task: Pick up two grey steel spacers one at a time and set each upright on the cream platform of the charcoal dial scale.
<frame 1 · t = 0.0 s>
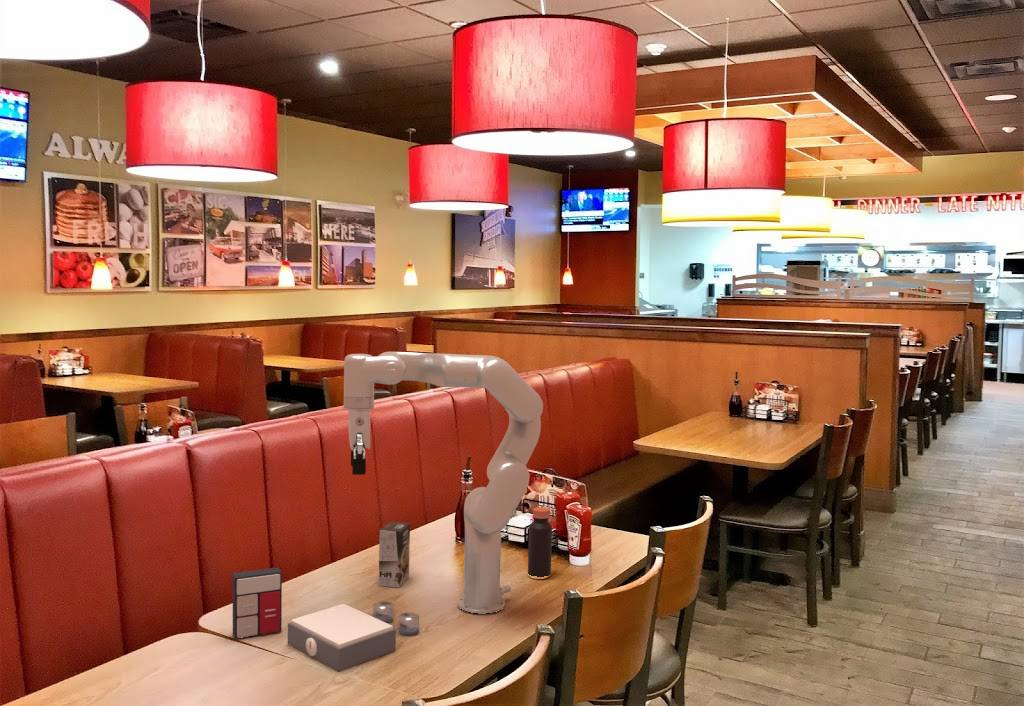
hand: (358, 470, 220), 37 cm above the table, tool pointing down, fingers open, 9 cm apart
scale: (341, 647, 203), on the table
bottle: (539, 576, 255), on the table
coffee box: (394, 582, 247), on the table
spacer b: (408, 632, 212), on the table
spacer a: (382, 620, 219), on the table
grey red panel: (257, 634, 209), on the table
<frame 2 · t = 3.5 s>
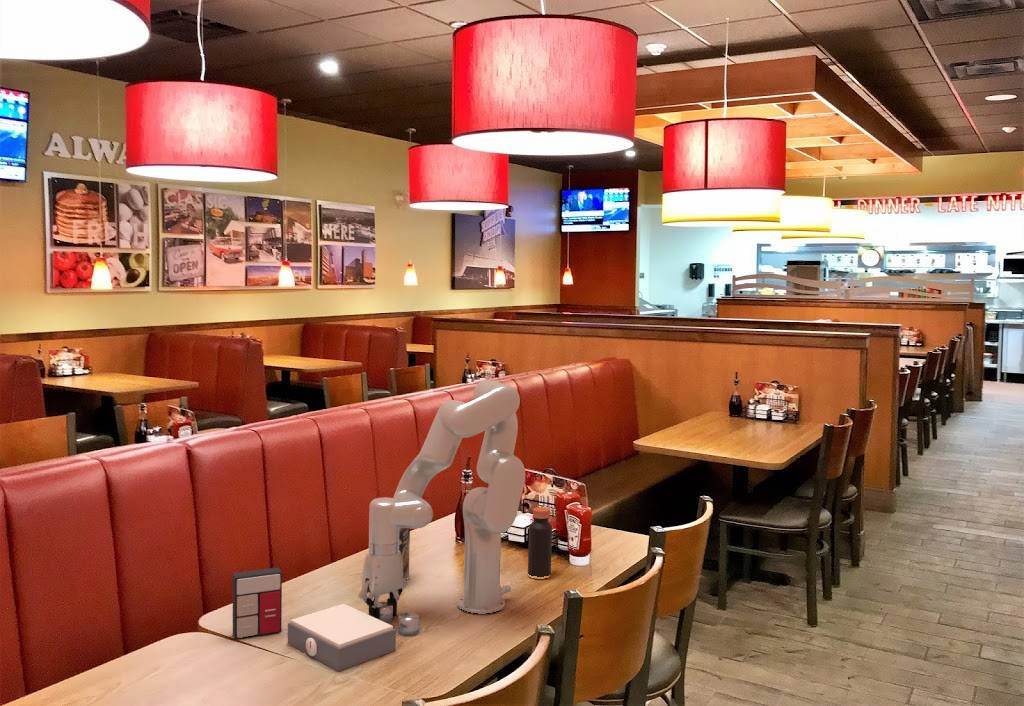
hand: (382, 617, 219), 1 cm above the table, tool pointing down, fingers closed on spacer a, 5 cm apart
spacer a: (382, 620, 219), on the table, touching gripper
everything else where it was.
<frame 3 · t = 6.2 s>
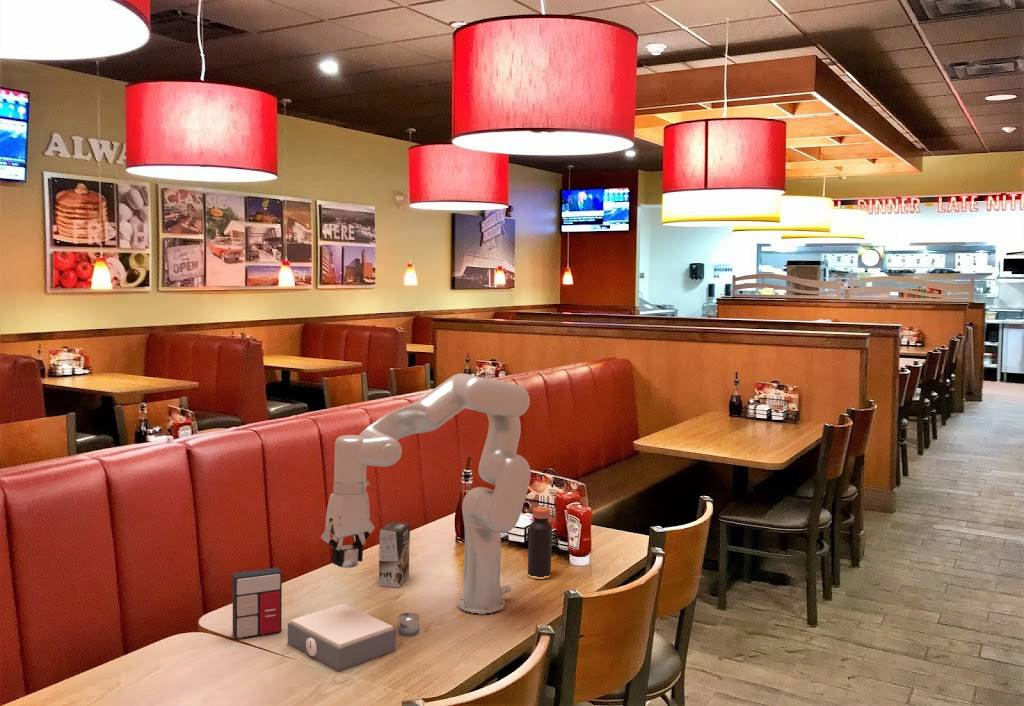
hand: (347, 561, 208), 18 cm above the table, tool pointing down, fingers closed on spacer a, 5 cm apart
spacer a: (347, 564, 208), point 17 cm above the table, touching gripper
everything else where it was.
when the fingers open (8 cm above the table, at t = 8.8 s): spacer a drops 1 cm, resting on scale.
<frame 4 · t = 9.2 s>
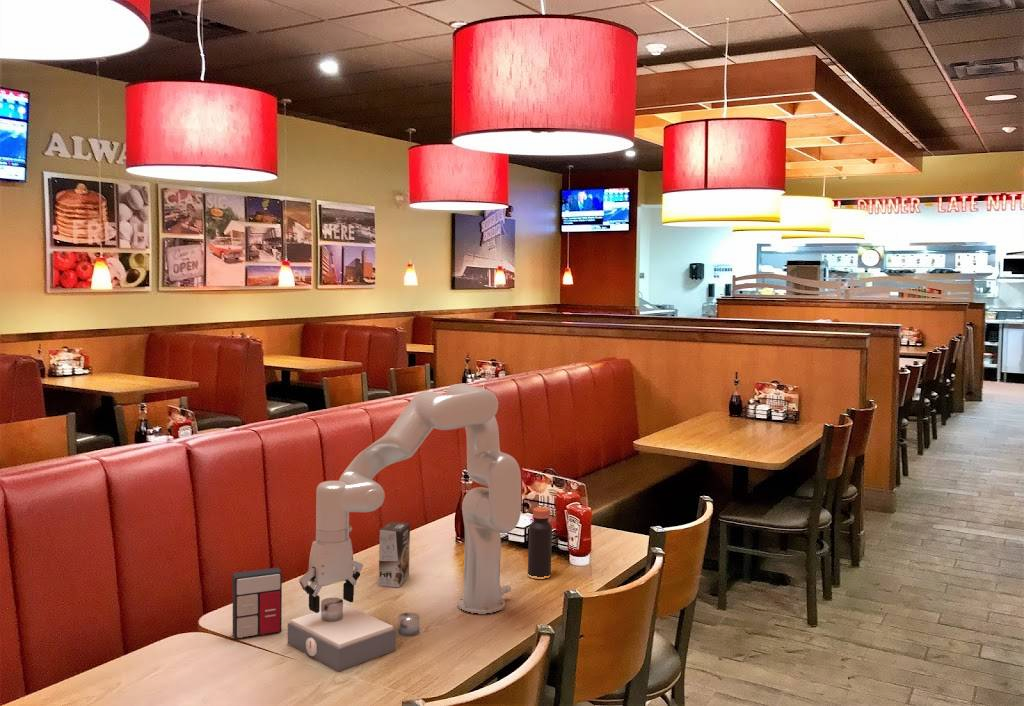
hand: (331, 605, 205), 9 cm above the table, tool pointing down, fingers open, 9 cm apart
spacer a: (331, 617, 205), point 6 cm above the table, touching scale
everything else where it was.
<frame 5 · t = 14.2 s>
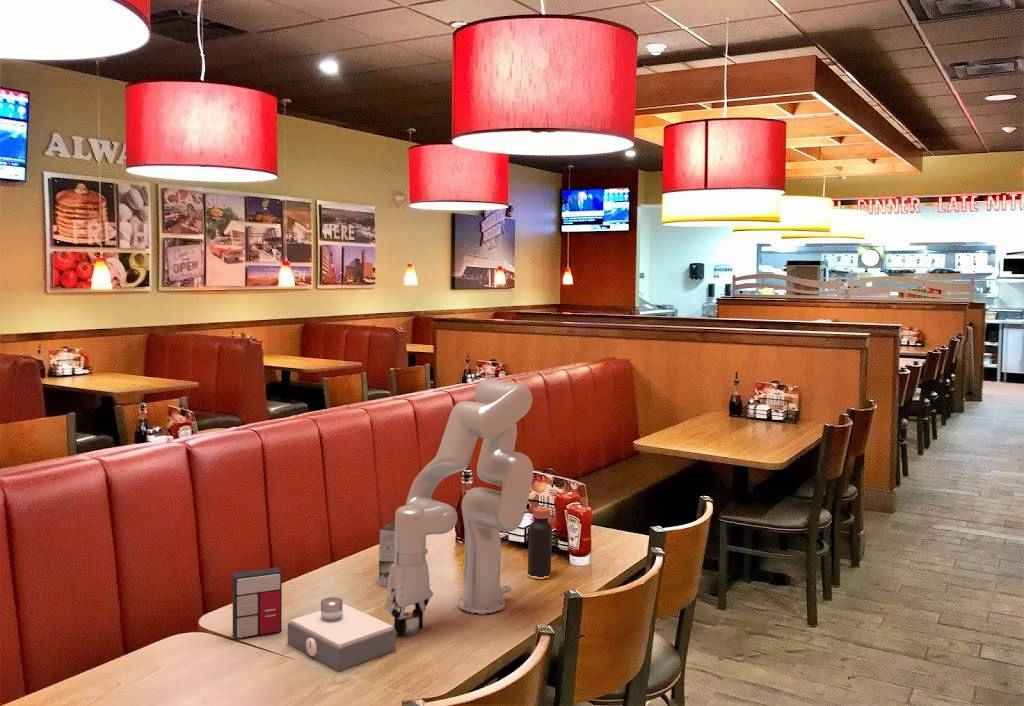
hand: (408, 629, 212), 1 cm above the table, tool pointing down, fingers closed on spacer b, 5 cm apart
spacer b: (408, 632, 212), on the table, touching gripper
everything else where it was.
when the fingers open (8 cm above the table, at t = 19.6 s): spacer b drops 1 cm, resting on scale.
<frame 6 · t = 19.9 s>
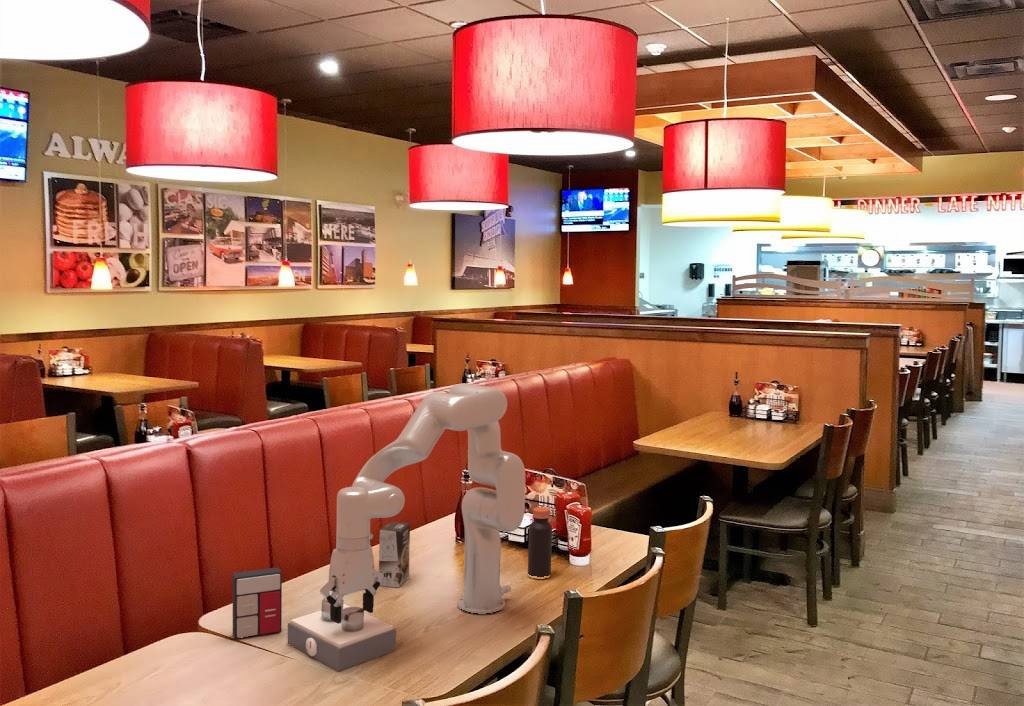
hand: (352, 616, 199), 9 cm above the table, tool pointing down, fingers open, 8 cm apart
spacer b: (352, 627, 200), point 6 cm above the table, touching scale
everything else where it was.
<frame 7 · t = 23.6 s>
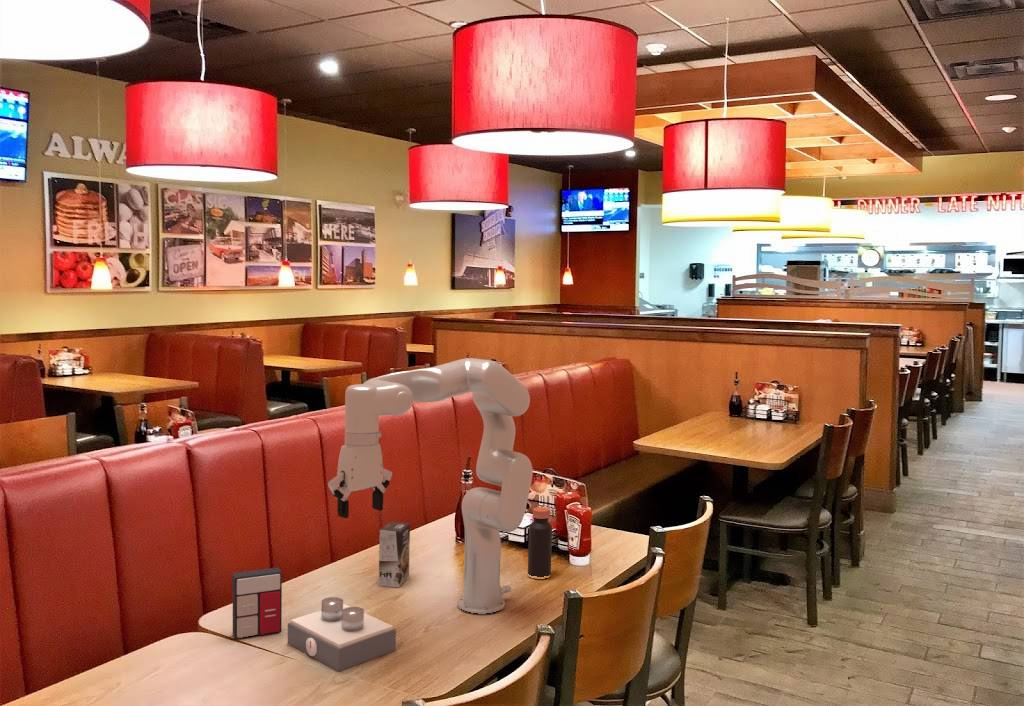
hand: (360, 513, 199), 32 cm above the table, tool pointing down, fingers open, 9 cm apart
nothing on the table moved.
at the end: spacer a inside the target area on the scale (4.0 cm from its centre), point 5.9 cm above the scale's base; spacer b inside the target area on the scale (4.0 cm from its centre), point 5.8 cm above the scale's base; spacer b tilted 0° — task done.
